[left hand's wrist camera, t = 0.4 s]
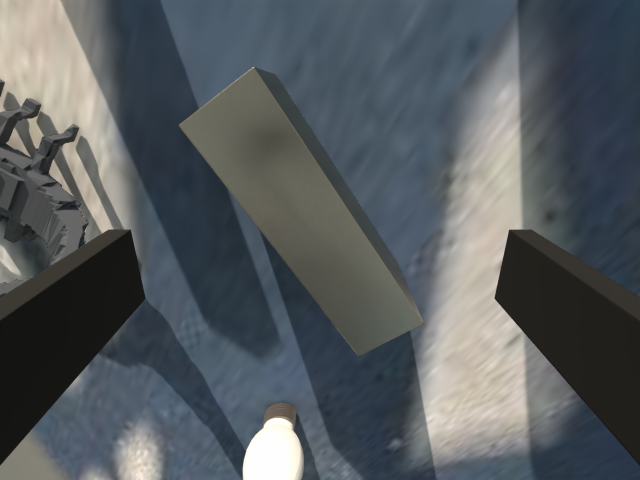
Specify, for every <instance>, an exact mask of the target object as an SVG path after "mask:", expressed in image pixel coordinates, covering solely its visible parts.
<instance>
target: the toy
mask: <svg viewBox="0 0 640 480" xmlns="http://www.w3.org/2000/svg"><path fill="white" fill-rule="evenodd" d="M4 83H5V82H3V81H2V80H0V97H1V93H2V90H3V87H4ZM40 107H41V104H40V103H38V102H36V101H35V100H33V99H26V100H25V102H24V103H23V105H22V107H21V108H19V109H17V110H11V111H4V112H1V113H0V221H1V219H2V216H5V217H8V218H9V220H8V223H7V227H6V230H5V235H4V238H5V239H7V240H9V241H10V242H12V243H14V242H16V241H18V240H19V239H21V238H25V239H26V240H28V241H32V240H34V239H35V238H36V236H37V235H39V236H41V237H43V239H44V241H45V242H46V245H48V246H47V248H49V249H52V250H53V251H54V252H53V254H52V256H51V257H50V259H49V260H51V262H50V264H49V267H50V266H51V265H53V264H54V263H56V262H58V261H59V260H61V259H62V258H64V257H66V256H67V255H69V254H70V253H72V252H74V251H75V250H77V249H79V248H80V247H82V246H83V245H84V244H85V242H86V241H84V235H85V232H84V231H85V229H86V227H87V225H88V223H89V222H87V219H86V218H84V217H82V216H83V215H82V214H81V213H82V212H81V211H80V209H79V207H80V205H81V203H79V202H78V201H77V199H76V198H74V197H73V196H72V195H70V194H69V193H68V192H67V191H65V190H64V189H63V188H62V185H61V184H60V183H58V182H57V181H56V180H55V179H53V178H52V177H51V176H50V175H48V173H49V170H50V167H51V164H52V160H53V159H54V158H55V155H56V153H57V151H58V149H59V147H60V146H61V145H63V144H65V143H69V142H73V141H74V140H75V137H76V135H77V132H78V130H79V127H77V126H76V125H74V124H72V125H71V126H70V127H69V128H68V129H67V130H66V131H65V132H64V133H62V134H57V135H52V136H44V137H42V140H41V143H40V146H39V149H36V150H35V153H34V157H33V159H32V158H30V157H29V156H27V155H26V154H24V153H22V152H21V151H19V150H15V149H13V148H11V147H10V146H9V145H7V144H6V142H8V141H9V138H10V136H11V134H12V131H13V129H14V127H15V125H16V123H17V121H18V120H22V119H26V118H34V117H36V116H37V115H38V113H39V110H40ZM24 226H28V227H24ZM32 277H34V276H30V277H28V278H27V279H25V280H21V281H20V280H17V279H16V280H14V281H12V282H10V283H8V284H7V283H5V282H4V283H2V284H0V297H2V296H3V295H5V294H6V293H8V292H10V291H11V290H13V289H14V288H16V287H18V286H19V285H21V284H22V283H24V282H26V281H27V280H29V279H30V278H32Z"/></svg>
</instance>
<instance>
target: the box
mask: <svg viewBox="0 0 640 480" xmlns="http://www.w3.org/2000/svg"><path fill="white" fill-rule="evenodd" d="M179 127H180V128H181V130H182V131H183V132H184V133H185V135H186V136H187V137H188V138H189V140H190V141H191V142H192V144H193V145H194V146H195V147H196V149H197V150H198V151H199V153H200V154H201V155H202V156H203V158H204V159H205V160H206V162H207V163H208V164H209V165H210V167H211V168H212V169H213V171H214V172H215V173H216V174H217V176H218V177H219V178H220V179H221V181H222V182H223V183H224V185H225V186H226V187H227V188H228V190H229V191H230V192H231V194H232V195H233V196H234V197H235V199H236V200H237V201H238V203H239V204H240V205H241V206H242V208H243V209H244V210H245V212H246V213H247V214H248V215H249V217H250V218H251V219H252V220H253V222H254V223H255V224H256V226H257V227H258V228H259V229H260V231H261V232H262V233H263V235H264V236H265V237H266V238H267V240H268V241H269V242H270V244H271V245H272V246H273V247H274V249H275V250H276V251H277V253H278V254H279V255H280V256H281V258H282V259H283V260H284V261H285V263H286V264H287V265H288V267H289V268H290V269H291V270H292V272H293V273H294V274H295V276H296V277H297V278H298V279H299V281H300V282H301V283H302V285H303V286H304V287H305V288H306V290H307V291H308V292H309V294H310V295H311V296H312V297H313V299H314V300H315V301H316V302H317V304H318V305H319V306H320V308H321V309H322V310H323V311H324V313H325V314H326V315H327V317H328V318H329V319H330V320H331V322H332V323H333V324H334V326H335V327H336V328H337V329H338V331H339V332H340V333H341V335H342V336H343V337H344V338H345V340H346V341H347V342H348V343H349V345H350V346H351V347H352V349H353V350H354V351H355V352H356V354H357V355H358V356H360V355H362V354H364V353H366V352H368V351H370V350H372V349H374V348H376V347H378V346H380V345H382V344H384V343H386V342H388V341H390V340H392V339H394V338H396V337H398V336H400V335H402V334H404V333H406V332H408V331H410V330H412V329H414V328H416V327H418V326H420V325H422V324H423V320H422V318H421V316H420V314H419V311H418V309H417V307H416V304H415V302H414V300H413V297H412V295H411V293H410V290H409V288H408V286H407V283H406V281H405V279H404V276H403V274H402V272H401V269H400V267H399V265H398V263H397V262H396V260H395V259H394V257H393V256H392V254H391V253H390V251H389V249H388V248H387V246H386V245H385V243H384V242H383V240H382V239H381V237H380V236H379V234H378V232H377V231H376V229H375V228H374V226H373V225H372V223H371V222H370V220H369V218H368V217H367V215H366V214H365V212H364V211H363V209H362V208H361V206H360V205H359V203H358V201H357V200H356V198H355V197H354V195H353V194H352V192H351V191H350V189H349V187H348V186H347V184H346V183H345V181H344V180H343V178H342V177H341V175H340V174H339V172H338V170H337V169H336V167H335V166H334V164H333V163H332V161H331V160H330V158H329V156H328V155H327V153H326V152H325V150H324V149H323V147H322V146H321V144H320V143H319V141H318V139H317V138H316V136H315V135H314V133H313V132H312V130H311V129H310V127H309V126H308V124H307V122H306V121H305V119H304V118H303V116H302V115H301V113H300V112H299V110H298V108H297V107H296V105H295V104H294V102H293V101H292V99H291V98H290V96H289V95H288V93H287V91H286V90H285V88H284V87H283V85H282V84H281V82H280V81H279V79H278V77H277V76H276V75H275V74H273V73H270V72H267V71H264V70H261V69H258V68H256V67H252V68H251V69H250V70H248V71H247V72H246V73H245V74H243V75H242V76H241V77H239V78H238V79H237V80H236V81H234V82H233V83H232V84H230V85H229V86H228V87H227V88H225V89H224V90H223V91H221V92H220V93H219V94H218V95H216V96H215V97H214V98H212V99H211V100H210V101H209V102H207V103H206V104H205V105H203V106H202V107H201V108H200V109H198V110H197V111H196V112H195V113H193V114H192V115H191V116H189V117H188V118H187V119H186V120H184V121H183V122H182V123H180V124H179Z"/></svg>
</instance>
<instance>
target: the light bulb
mask: <svg viewBox="0 0 640 480" xmlns="http://www.w3.org/2000/svg"><path fill="white" fill-rule="evenodd" d="M295 422H296V410H295V408H294V407H293V406H291V405H289V404H285V403H278V404H274V405H272V406H270V407H269V408H268V409H267V410H266V412H265V416H264V422H263V427H262V430H261V431H259V432H258V433H257V434H256V435H255V437H254V438H253V439H252V441H251V443H250V445H249V447H248V449H247V451H246V455H245V458H244V464H243V480H301V478H302V475H303V469H304V455H303V450H302V446H301V443H300V441H299V439H298V437H297V436H296V434H295V433H294V429H295Z"/></svg>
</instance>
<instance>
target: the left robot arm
mask: <svg viewBox="0 0 640 480" xmlns="http://www.w3.org/2000/svg"><path fill="white" fill-rule="evenodd" d="M144 300H145V294H144V289H143V285H142V280H141V275H140V271H139V266H138V261H137V257H136V252H135V247H134V243H133V238H132V233H131V230H107V231H106V232H104V233H103V234H101V235H99V236H98V237H96V238H95V239H93V240H91V241H90V242H88V243H87V244H85V245H83V246H82V247H80V248H79V249H77V250H75V251H74V252H72V253H70V254H69V255H67V256H66V257H64V258H62V259H61V260H59V261H58V262H56V263H54V264H53V265H51V266H50V267H48V268H46V269H45V270H43V271H42V272H40V273H38V274H37V275H35V276H34V277H32V278H30V279H29V280H27V281H26V282H24V283H22V284H21V285H19V286H18V287H16V288H14V289H13V290H11V291H10V292H8V293H6V294H5V295H3V296H2V297H0V465H1V464H2V463H3V462H4V460H5V459H6V458H7V457H8V456H9V455H10V454H11V452H12V451H13V450H14V449H15V448H16V447H17V446H18V444H19V443H20V442H21V441H22V440H23V439H24V438H25V436H26V435H27V434H28V433H29V432H30V431H31V429H32V428H33V427H34V426H35V425H36V424H37V423H38V421H39V420H40V419H41V418H42V417H43V416H44V415H45V413H46V412H47V411H48V410H49V409H50V408H51V406H52V405H53V404H54V403H55V402H56V401H57V400H58V398H59V397H60V396H61V395H62V394H63V393H64V392H65V390H66V389H67V388H68V387H69V386H70V385H71V383H72V382H73V381H74V380H75V379H76V378H77V377H78V375H79V374H80V373H81V372H82V371H83V370H84V369H85V367H86V366H87V365H88V364H89V363H90V362H91V361H92V359H93V358H94V357H95V356H96V355H97V354H98V352H99V351H100V350H101V349H102V348H103V347H104V346H105V344H106V343H107V342H108V341H109V340H110V339H111V338H112V336H113V335H114V334H115V333H116V332H117V331H118V329H119V328H120V327H121V326H122V325H123V324H124V323H125V321H126V320H127V319H128V318H129V317H130V316H131V315H132V313H133V312H134V311H135V310H136V309H137V308H138V307H139V305H140V304H141V303H142V302H143V301H144ZM495 300H496V301H497V302H498V303H499V304H500V305H501V307H502V308H503V309H504V310H505V311H506V312H507V313H508V315H509V316H510V317H511V318H512V319H513V320H514V321H515V323H516V324H517V325H518V326H519V327H520V328H521V329H522V331H523V332H524V333H525V334H526V335H527V336H528V338H529V339H530V340H531V341H532V342H533V343H534V344H535V346H536V347H537V348H538V349H539V350H540V351H541V352H542V354H543V355H544V356H545V357H546V358H547V359H548V361H549V362H550V363H551V364H552V365H553V366H554V367H555V369H556V370H557V371H558V372H559V373H560V374H561V375H562V377H563V378H564V379H565V380H566V381H567V382H568V384H569V385H570V386H571V387H572V388H573V389H574V390H575V392H576V393H577V394H578V395H579V396H580V397H581V398H582V400H583V401H584V402H585V403H586V404H587V405H588V406H589V408H590V409H591V410H592V411H593V412H594V413H595V415H596V416H597V417H598V418H599V419H600V420H601V421H602V423H603V424H604V425H605V426H606V427H607V428H608V429H609V431H610V432H611V433H612V434H613V435H614V436H615V438H616V439H617V440H618V441H619V442H620V443H621V444H622V446H623V447H624V448H625V449H626V450H627V451H628V452H629V454H630V455H631V456H632V457H633V458H634V459H635V460H636V462H637V463H638V464H639V465H640V297H638V296H637V295H635V294H634V293H632V292H630V291H629V290H627V289H626V288H624V287H622V286H621V285H619V284H618V283H616V282H614V281H613V280H611V279H610V278H608V277H606V276H605V275H603V274H602V273H600V272H598V271H597V270H595V269H594V268H592V267H590V266H589V265H587V264H586V263H584V262H582V261H581V260H579V259H578V258H576V257H574V256H573V255H571V254H570V253H568V252H566V251H565V250H563V249H561V248H560V247H558V246H557V245H555V244H553V243H552V242H550V241H549V240H547V239H545V238H544V237H542V236H541V235H539V234H537V233H536V232H534V231H533V230H509V233H508V238H507V243H506V247H505V252H504V257H503V261H502V266H501V271H500V275H499V280H498V285H497V289H496V294H495Z"/></svg>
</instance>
